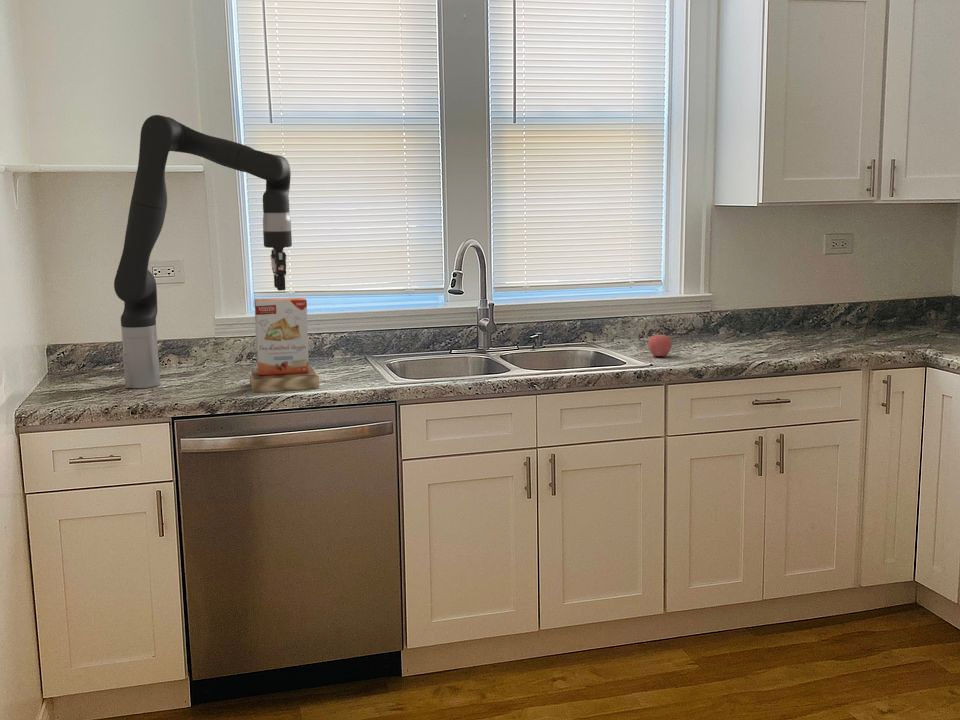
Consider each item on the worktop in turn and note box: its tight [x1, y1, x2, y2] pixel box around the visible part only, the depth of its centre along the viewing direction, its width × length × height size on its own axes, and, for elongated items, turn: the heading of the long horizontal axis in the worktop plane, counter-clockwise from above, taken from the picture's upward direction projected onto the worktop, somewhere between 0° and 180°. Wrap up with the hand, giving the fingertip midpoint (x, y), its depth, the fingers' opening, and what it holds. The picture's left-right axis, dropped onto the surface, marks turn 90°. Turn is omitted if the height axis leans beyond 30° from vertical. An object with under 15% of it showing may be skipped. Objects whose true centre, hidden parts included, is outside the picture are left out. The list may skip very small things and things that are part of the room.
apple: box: [647, 332, 673, 357], centre depth 298 cm, size 7×7×8 cm
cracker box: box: [253, 297, 310, 375], centre depth 257 cm, size 14×6×21 cm, turn 106°
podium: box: [249, 366, 320, 394], centre depth 259 cm, size 18×13×4 cm
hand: (279, 288), depth 254 cm, fingers open, 8 cm apart
